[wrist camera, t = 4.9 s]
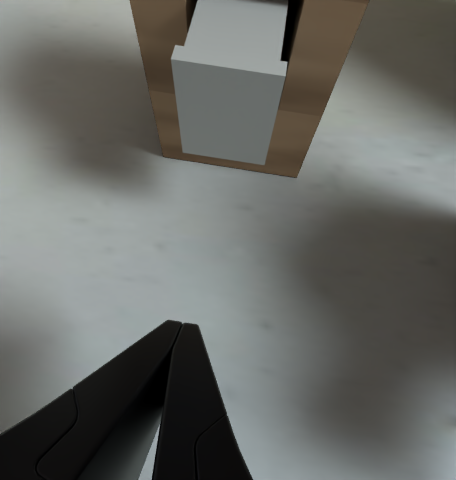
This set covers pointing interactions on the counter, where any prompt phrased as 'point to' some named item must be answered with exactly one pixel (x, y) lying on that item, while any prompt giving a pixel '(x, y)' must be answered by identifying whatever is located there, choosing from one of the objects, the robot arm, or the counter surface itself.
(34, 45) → the counter surface
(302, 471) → the counter surface
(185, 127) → the grey key
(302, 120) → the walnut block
